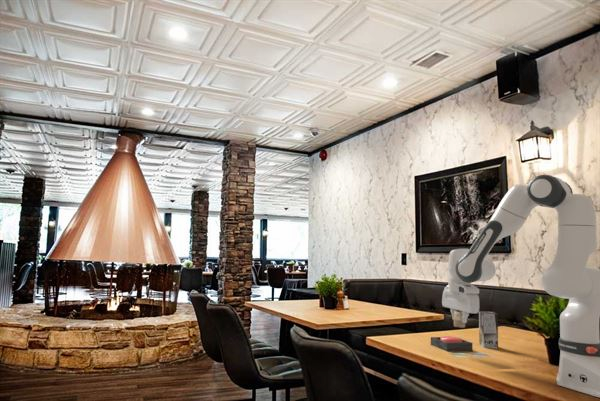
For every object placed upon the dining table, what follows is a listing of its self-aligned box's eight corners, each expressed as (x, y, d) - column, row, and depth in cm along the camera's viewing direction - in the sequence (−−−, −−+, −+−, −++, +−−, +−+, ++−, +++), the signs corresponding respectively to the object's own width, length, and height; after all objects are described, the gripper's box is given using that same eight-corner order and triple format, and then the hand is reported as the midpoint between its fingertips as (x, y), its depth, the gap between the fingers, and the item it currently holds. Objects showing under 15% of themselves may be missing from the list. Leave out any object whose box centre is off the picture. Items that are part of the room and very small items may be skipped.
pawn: (467, 327, 169) (467, 312, 170) (456, 327, 169) (456, 312, 169) (461, 325, 173) (461, 310, 174) (451, 325, 173) (451, 310, 174)
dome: (466, 349, 179) (466, 340, 180) (448, 350, 177) (448, 340, 178) (453, 345, 188) (453, 336, 188) (436, 345, 186) (436, 336, 186)
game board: (495, 360, 167) (495, 349, 167) (461, 361, 163) (461, 349, 163) (458, 346, 190) (458, 336, 191) (427, 347, 186) (427, 337, 187)
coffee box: (498, 351, 184) (498, 313, 186) (483, 349, 186) (482, 312, 188) (493, 346, 193) (493, 311, 195) (479, 345, 195) (478, 310, 197)
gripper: (438, 284, 182) (438, 317, 180) (468, 289, 162) (468, 325, 161) (451, 285, 184) (450, 317, 182) (482, 290, 164) (482, 325, 162)
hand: (459, 321), depth 171 cm, fingers closed on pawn, 4 cm apart
